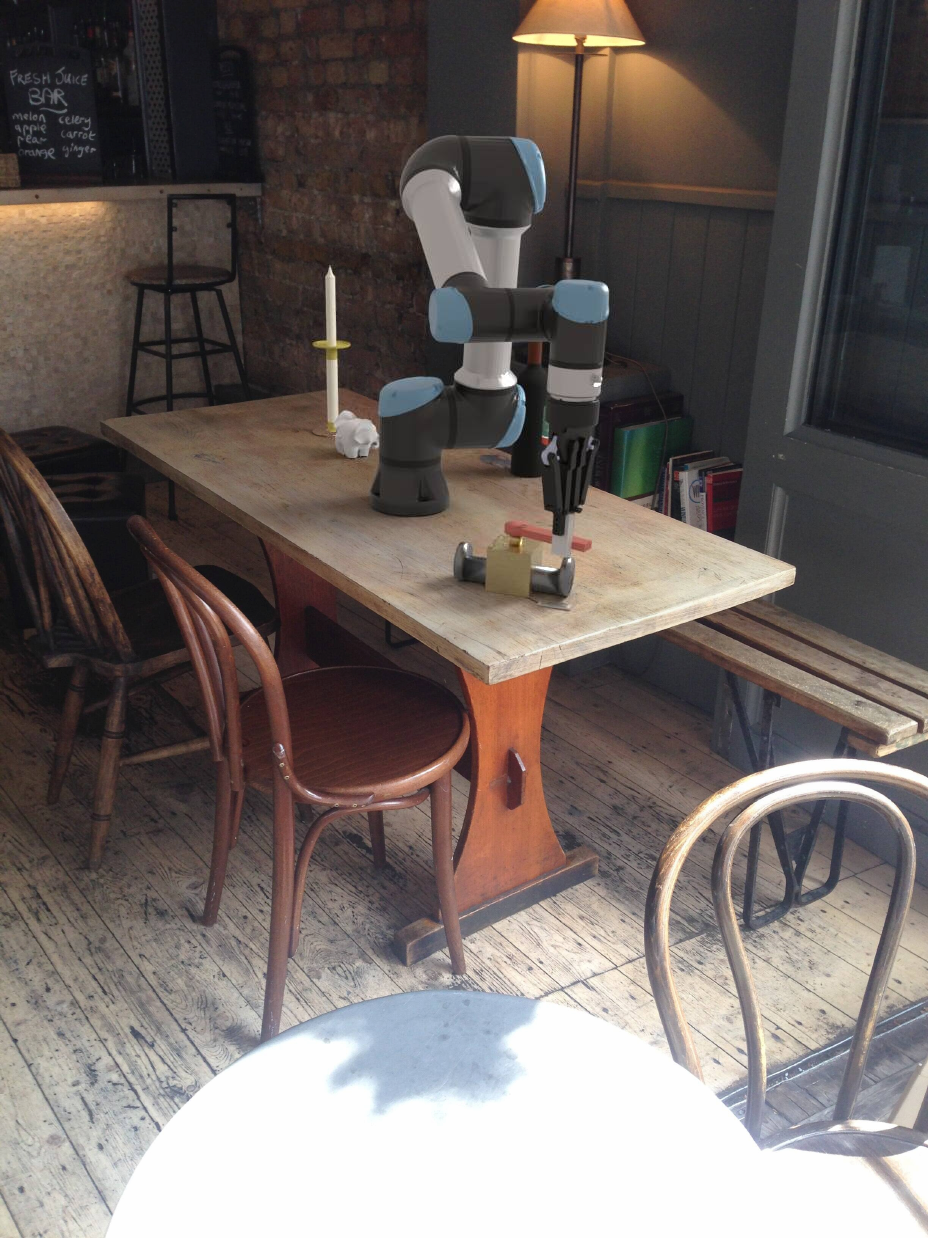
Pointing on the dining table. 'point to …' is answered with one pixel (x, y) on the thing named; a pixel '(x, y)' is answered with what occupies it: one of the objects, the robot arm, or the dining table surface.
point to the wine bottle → (531, 417)
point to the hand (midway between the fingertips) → (560, 554)
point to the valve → (515, 569)
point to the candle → (331, 351)
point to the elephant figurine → (354, 435)
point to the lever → (542, 535)
